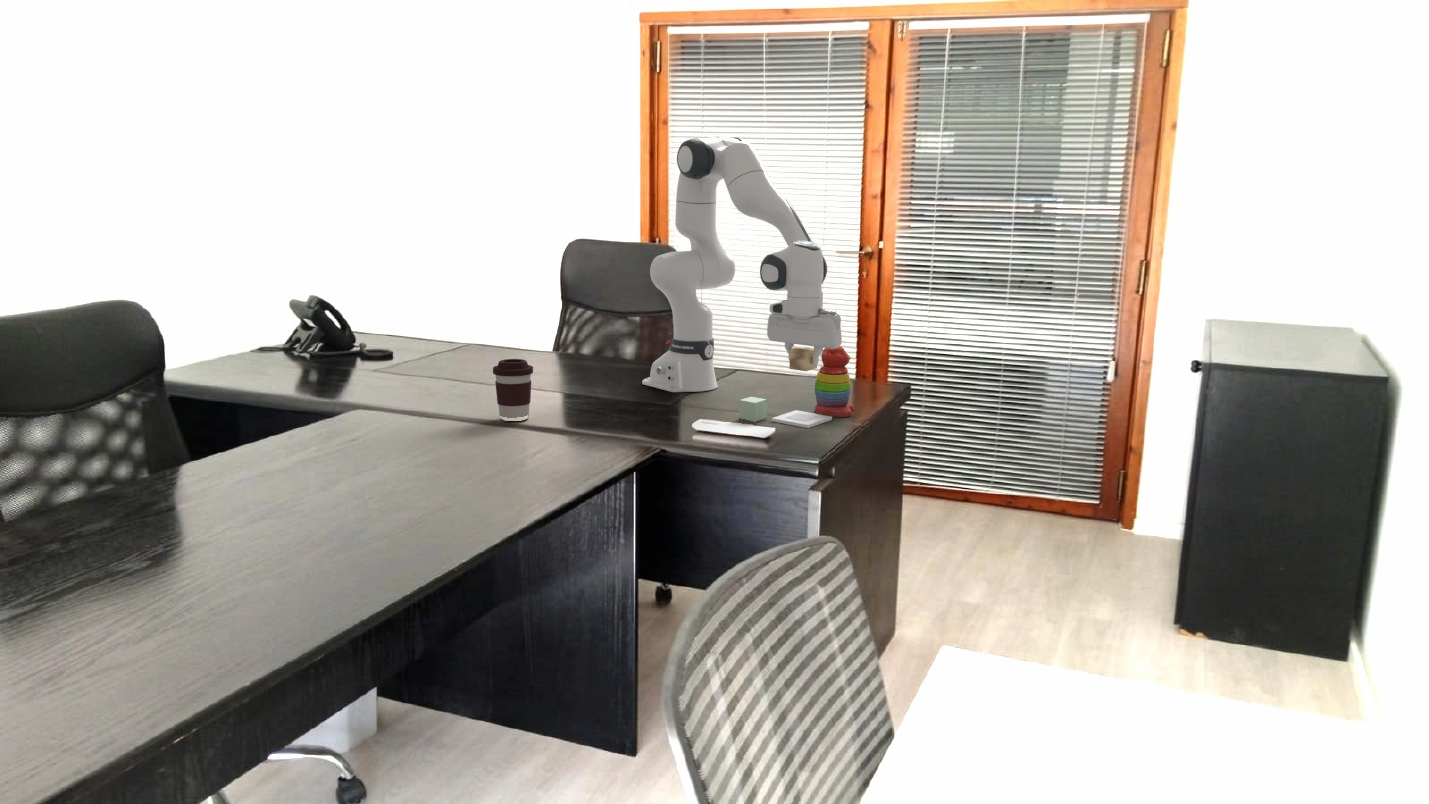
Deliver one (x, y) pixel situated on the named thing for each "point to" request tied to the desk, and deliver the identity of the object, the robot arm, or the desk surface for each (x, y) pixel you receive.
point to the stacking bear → (833, 384)
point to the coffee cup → (513, 387)
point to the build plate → (802, 419)
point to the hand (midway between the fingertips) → (803, 362)
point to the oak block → (801, 359)
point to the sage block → (753, 409)
